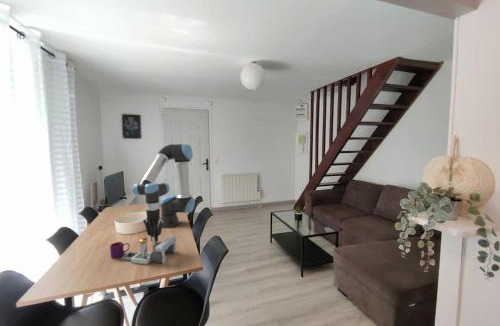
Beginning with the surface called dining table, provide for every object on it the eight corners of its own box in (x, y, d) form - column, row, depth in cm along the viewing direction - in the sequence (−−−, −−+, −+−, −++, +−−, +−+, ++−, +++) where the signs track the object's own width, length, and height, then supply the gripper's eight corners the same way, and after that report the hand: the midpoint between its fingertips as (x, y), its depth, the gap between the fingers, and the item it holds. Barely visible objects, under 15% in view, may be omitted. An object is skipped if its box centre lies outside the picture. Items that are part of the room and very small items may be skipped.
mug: (111, 253, 138) (111, 243, 137) (130, 250, 142) (129, 240, 141) (109, 259, 132) (108, 248, 131) (129, 255, 136) (128, 244, 135)
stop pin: (142, 257, 132) (140, 237, 130) (149, 257, 132) (148, 237, 130) (139, 261, 128) (137, 241, 126) (146, 261, 128) (144, 241, 126)
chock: (159, 248, 144) (158, 240, 144) (165, 249, 143) (165, 241, 143) (153, 253, 138) (152, 245, 138) (159, 253, 137) (159, 245, 137)
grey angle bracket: (164, 250, 141) (163, 234, 140) (176, 251, 140) (175, 235, 139) (150, 262, 127) (149, 245, 126) (163, 264, 126) (162, 246, 125)
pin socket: (129, 254, 137) (129, 251, 137) (140, 255, 136) (139, 252, 136) (121, 260, 131) (120, 257, 130) (132, 261, 129) (131, 258, 129)
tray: (140, 255, 135) (140, 251, 135) (156, 257, 134) (155, 253, 133) (131, 262, 128) (131, 258, 127) (147, 264, 126) (147, 260, 126)
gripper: (139, 210, 136) (141, 248, 139) (159, 211, 134) (161, 249, 136) (147, 206, 143) (149, 242, 146) (166, 207, 141) (167, 244, 143)
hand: (154, 246), depth 141 cm, fingers closed
